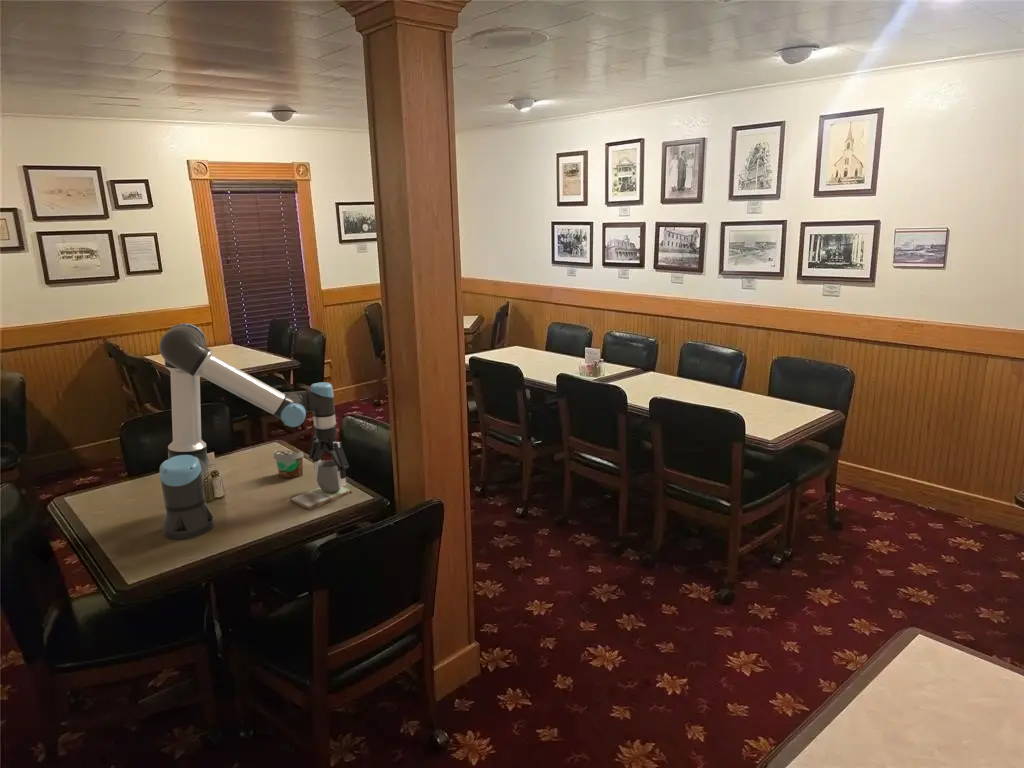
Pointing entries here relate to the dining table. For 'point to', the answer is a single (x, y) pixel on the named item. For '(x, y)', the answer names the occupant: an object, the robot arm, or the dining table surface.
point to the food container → (289, 464)
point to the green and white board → (318, 497)
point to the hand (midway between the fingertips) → (330, 482)
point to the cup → (328, 476)
